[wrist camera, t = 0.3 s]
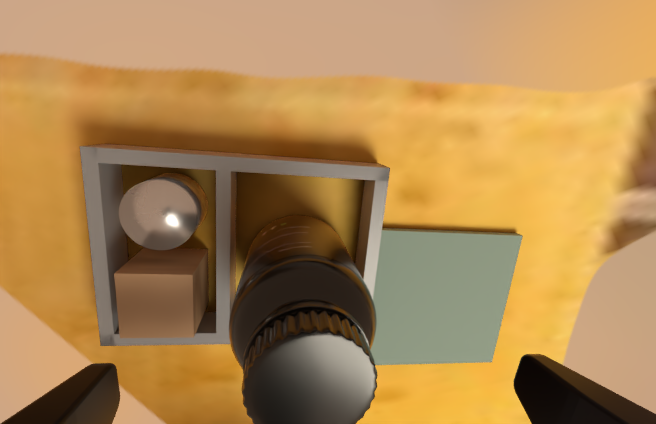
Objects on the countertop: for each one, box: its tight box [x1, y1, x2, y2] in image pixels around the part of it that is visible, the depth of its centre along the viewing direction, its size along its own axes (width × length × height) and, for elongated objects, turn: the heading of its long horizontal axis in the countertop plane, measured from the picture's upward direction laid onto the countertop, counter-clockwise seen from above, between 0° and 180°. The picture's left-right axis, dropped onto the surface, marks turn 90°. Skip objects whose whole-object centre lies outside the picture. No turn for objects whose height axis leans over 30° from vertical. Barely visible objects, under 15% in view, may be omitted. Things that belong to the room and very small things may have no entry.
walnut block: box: [114, 247, 209, 338], centre depth 20 cm, size 4×4×4 cm
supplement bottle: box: [229, 215, 377, 424], centre depth 17 cm, size 7×7×12 cm
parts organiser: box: [80, 144, 390, 346], centre depth 21 cm, size 12×17×2 cm
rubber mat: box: [370, 228, 522, 365], centre depth 25 cm, size 11×11×1 cm
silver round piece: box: [119, 173, 208, 250], centre depth 19 cm, size 4×4×3 cm
